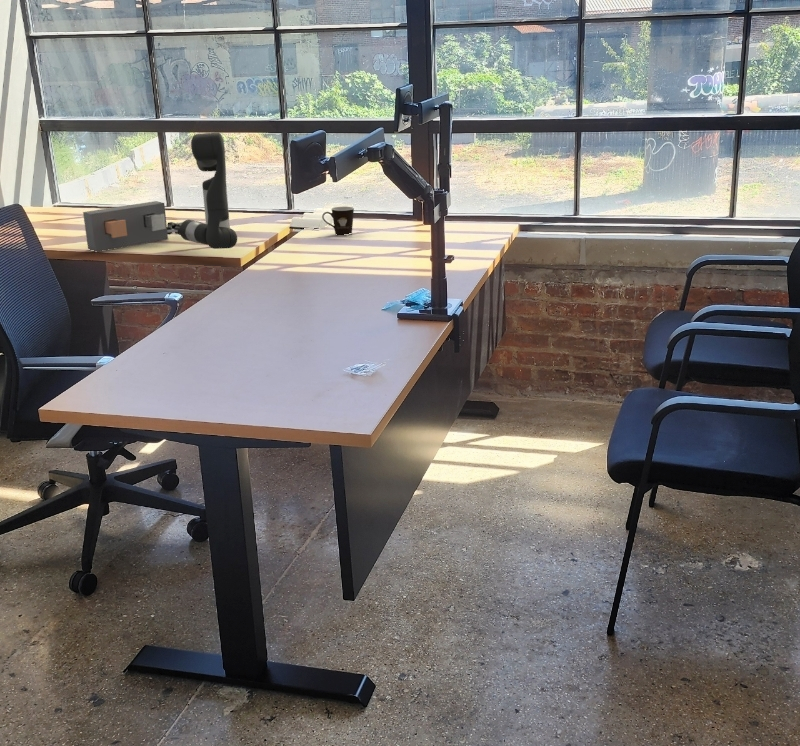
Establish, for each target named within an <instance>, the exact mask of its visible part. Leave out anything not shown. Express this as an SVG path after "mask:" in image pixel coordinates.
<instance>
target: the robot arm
mask: <svg viewBox="0 0 800 746" xmlns="http://www.w3.org/2000/svg"><path fill="white" fill-rule="evenodd" d="M190 149H191V152H192V156H193V158H194V159H195V161H196V165H197V168H198V170H200V171H201V172H214V176H212V177H211V178H208V179H206V180H204V181H203V182H202V184H201V185H202V187H201V188H202V194H203V195H202V196H203V204H204V205H203V206H204V207H203V209H204V218H205V223H204V222H202V221H200V220H199V221H198V220H193V219H186V220H183V221H181V222H173V221H169V222H167V223H166V224H167V234H168V235H169V236H170V235H171V234H173V233H175V234H176V235H178V236H179V235H180V237H181V238H182V239H183V240H185V241H188V242H192V243H194V244H195V243H196V244H202V245H207V246H208V247H209V248H210V249H214V250H215V249H217V250H219V249H220V250H221V249H223V250H224V249H231V248H233V247H235V246H236V245H237V243H238V235H237V233H236V231H235V230H234V229H232V228H231V227H230V226H231V225H230V213H229V201H228V189H227V169H226V168H227V167H226V166H227V165H226V164H227V163H226V149H225V142H224V138H223V136H222V133H220V132H204V133H196V134H194V135H193V136H192V137H191V142H190Z"/></svg>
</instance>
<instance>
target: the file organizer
mask: <svg viewBox="0 0 800 746" xmlns="http://www.w3.org/2000/svg"><path fill="white" fill-rule="evenodd" d="M334 207H353V208H354V204H353V203H337V202H335V203H334V202H325V203H324V206H323V208H322V207H321V208H320V207H319V208H318V207H315V208H314V210H313V212H304V213H303V215H302V217H300V216H299V217H298V216H293V217H292V218H291V221H290V225H289V229H290V230H291V229H292V230H293V229H294V230H304V228H314V229H320V228H323V227H325V226H327V225H329V224H327V223H326V222H325V221H324V220H323V218H322V216H323V214H324V213H325V212H330V213H332V208H334ZM324 219H325V220H326V221H327V222H328V223H330V224H332V223H334V221H333V218H332V216H331V215H330V214H328V213H326V214H325V215H324ZM332 225H333V224H332ZM329 226H330V225H329ZM327 227H328V226H327ZM325 228H326V227H325ZM323 229H324V228H323Z"/></svg>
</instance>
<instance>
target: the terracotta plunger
mask: <svg viewBox="0 0 800 746" xmlns="http://www.w3.org/2000/svg"><path fill="white" fill-rule="evenodd" d="M104 227H105V233H108V234H111V236H112V238H116V237H121V236H127V229H126V220H119V221H115V220H108V221H104Z"/></svg>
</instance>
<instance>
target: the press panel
mask: <svg viewBox="0 0 800 746" xmlns="http://www.w3.org/2000/svg"><path fill="white" fill-rule="evenodd" d="M165 206H166V205H165V202H162V201H156V200H154V201H149V202H141V203H136V204H135V203H134V204H127V205H121V206H114V207H109V208H102V209H95V210H90V211H89V210H88V211H83V212H82V214H83V215H82V216H83V222H84V229H85V236H86V243H87V244H86V245H87V250H88V249H90V250H94V251H101V252H103V251H102V250H106V251H109V250H108V249H112V250H115V249H114V248H117V249H121V247H123V248H128V247H133V246H139V245H143V244H148V243H154V242H155V243H156V242H160V241H165V240H169V236H168V235H169V234H167V224H168V223H167V217H166V207H165ZM145 214H155V215H156V214H164V216H165V225H166V229H161V230H156V231H151V228H150V227H146V226H144V218H143V215H145ZM108 220H115V221H119V220H126V229H127V236H121V237H116V238H112V236H111V234H108V233H105V227H104V221H108ZM127 246H128V247H127ZM90 250H89V251H90Z"/></svg>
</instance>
